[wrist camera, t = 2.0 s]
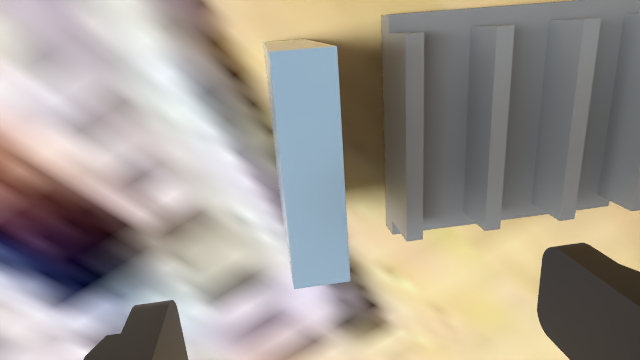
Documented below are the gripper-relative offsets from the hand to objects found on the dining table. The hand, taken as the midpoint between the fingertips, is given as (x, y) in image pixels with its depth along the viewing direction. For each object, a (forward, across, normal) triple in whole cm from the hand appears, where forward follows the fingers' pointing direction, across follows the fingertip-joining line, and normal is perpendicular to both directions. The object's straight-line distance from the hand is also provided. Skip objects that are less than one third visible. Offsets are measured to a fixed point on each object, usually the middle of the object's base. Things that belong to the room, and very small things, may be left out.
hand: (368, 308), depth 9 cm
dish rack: (+20, -14, +1) cm, 24 cm away
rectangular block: (+20, 0, 0) cm, 20 cm away
